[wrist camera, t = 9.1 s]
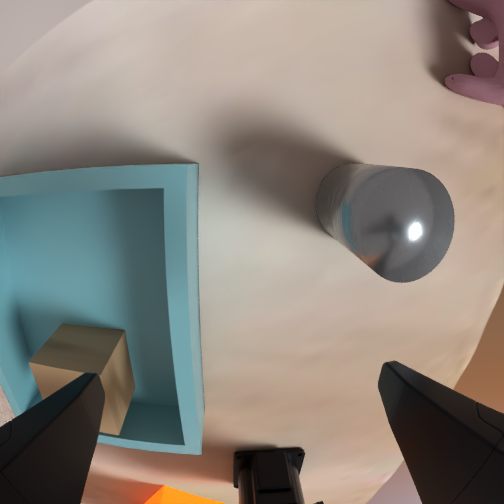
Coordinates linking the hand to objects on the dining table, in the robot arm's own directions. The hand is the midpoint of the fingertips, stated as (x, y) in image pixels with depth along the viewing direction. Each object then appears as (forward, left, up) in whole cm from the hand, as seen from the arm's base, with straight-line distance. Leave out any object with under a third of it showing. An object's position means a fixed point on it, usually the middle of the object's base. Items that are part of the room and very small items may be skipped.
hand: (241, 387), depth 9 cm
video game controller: (+17, -17, -12) cm, 27 cm away
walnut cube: (-7, +10, -10) cm, 16 cm away
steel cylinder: (+4, -7, -11) cm, 14 cm away
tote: (-3, +10, -11) cm, 15 cm away
